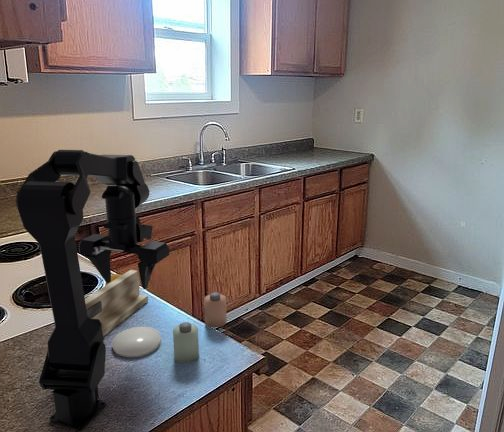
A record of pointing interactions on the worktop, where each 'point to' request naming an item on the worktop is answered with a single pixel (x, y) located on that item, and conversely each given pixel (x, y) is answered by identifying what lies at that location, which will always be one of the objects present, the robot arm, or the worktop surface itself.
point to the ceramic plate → (136, 342)
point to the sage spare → (186, 342)
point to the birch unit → (115, 301)
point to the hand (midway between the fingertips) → (126, 285)
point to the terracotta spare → (215, 310)
